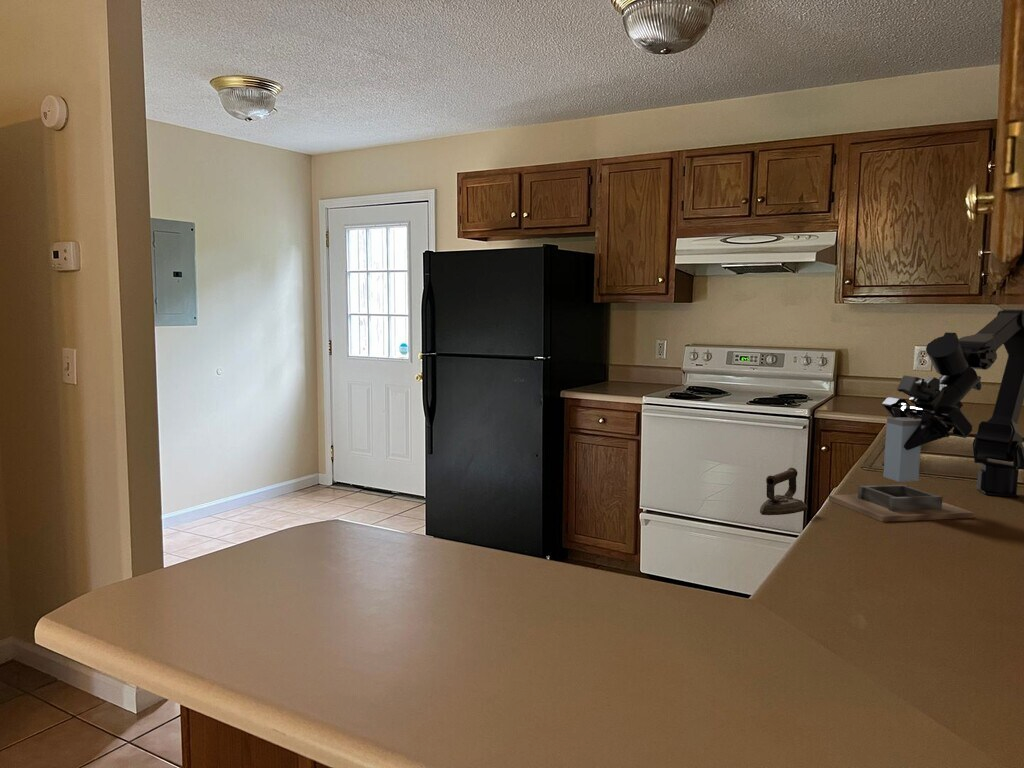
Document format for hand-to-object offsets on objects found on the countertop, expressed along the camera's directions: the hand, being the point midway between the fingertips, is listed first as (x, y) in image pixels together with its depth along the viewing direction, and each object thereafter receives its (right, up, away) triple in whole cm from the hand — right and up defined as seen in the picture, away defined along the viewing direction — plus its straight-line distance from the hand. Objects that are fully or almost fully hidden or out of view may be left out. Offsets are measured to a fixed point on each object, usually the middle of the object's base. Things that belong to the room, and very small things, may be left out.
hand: (896, 446), depth 145 cm
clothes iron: (-24, -13, -1) cm, 27 cm away
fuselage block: (+1, -7, +1) cm, 7 cm away
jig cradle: (+1, -13, +2) cm, 13 cm away
